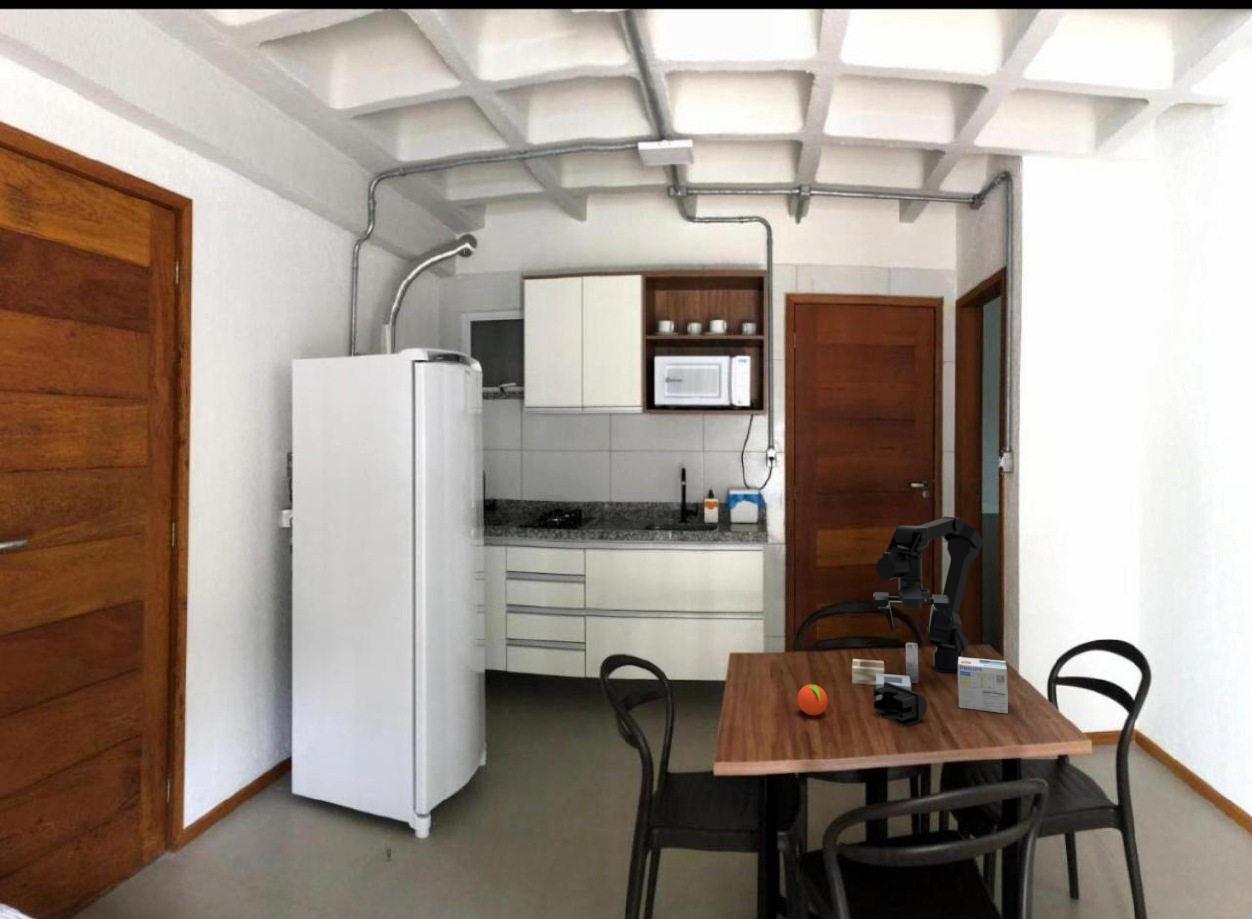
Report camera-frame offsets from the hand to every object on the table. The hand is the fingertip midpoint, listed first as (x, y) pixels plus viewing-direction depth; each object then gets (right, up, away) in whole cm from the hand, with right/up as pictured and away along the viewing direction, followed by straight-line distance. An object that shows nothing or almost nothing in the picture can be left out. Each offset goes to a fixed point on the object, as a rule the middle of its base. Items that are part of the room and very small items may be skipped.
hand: (911, 633), depth 191 cm
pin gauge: (0, -13, 0) cm, 13 cm away
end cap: (-12, -14, -23) cm, 29 cm away
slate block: (-8, -13, -9) cm, 18 cm away
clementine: (-31, -15, -20) cm, 40 cm away
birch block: (-10, -13, +3) cm, 17 cm away
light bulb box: (+10, -14, -18) cm, 24 cm away
